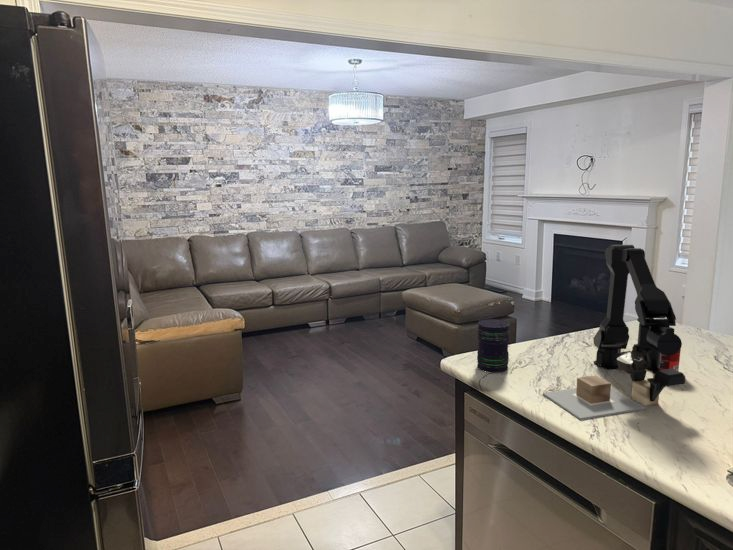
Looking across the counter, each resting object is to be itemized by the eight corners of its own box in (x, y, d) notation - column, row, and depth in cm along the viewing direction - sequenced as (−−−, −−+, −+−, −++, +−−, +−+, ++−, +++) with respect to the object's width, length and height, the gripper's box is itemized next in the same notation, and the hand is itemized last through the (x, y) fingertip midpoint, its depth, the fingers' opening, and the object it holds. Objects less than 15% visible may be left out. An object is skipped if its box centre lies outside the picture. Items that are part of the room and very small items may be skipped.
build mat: (602, 385, 148) (602, 384, 148) (645, 409, 133) (645, 407, 133) (542, 394, 143) (542, 392, 143) (580, 419, 128) (580, 418, 128)
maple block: (645, 396, 140) (646, 379, 139) (658, 403, 136) (659, 385, 135) (631, 398, 139) (632, 381, 138) (644, 405, 135) (645, 388, 134)
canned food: (674, 368, 160) (678, 335, 157) (681, 378, 152) (684, 343, 150) (647, 366, 162) (650, 333, 160) (652, 375, 155) (655, 341, 153)
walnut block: (594, 391, 143) (595, 375, 142) (609, 400, 137) (611, 383, 136) (576, 394, 141) (577, 377, 140) (590, 403, 135) (592, 386, 134)
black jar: (470, 366, 165) (471, 322, 162) (490, 359, 171) (491, 316, 168) (495, 375, 157) (496, 329, 154) (514, 368, 163) (516, 323, 160)
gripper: (599, 335, 141) (595, 387, 144) (653, 357, 123) (647, 416, 126) (632, 331, 144) (628, 383, 147) (689, 352, 126) (683, 410, 129)
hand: (644, 397), depth 137 cm, fingers closed on maple block, 4 cm apart
